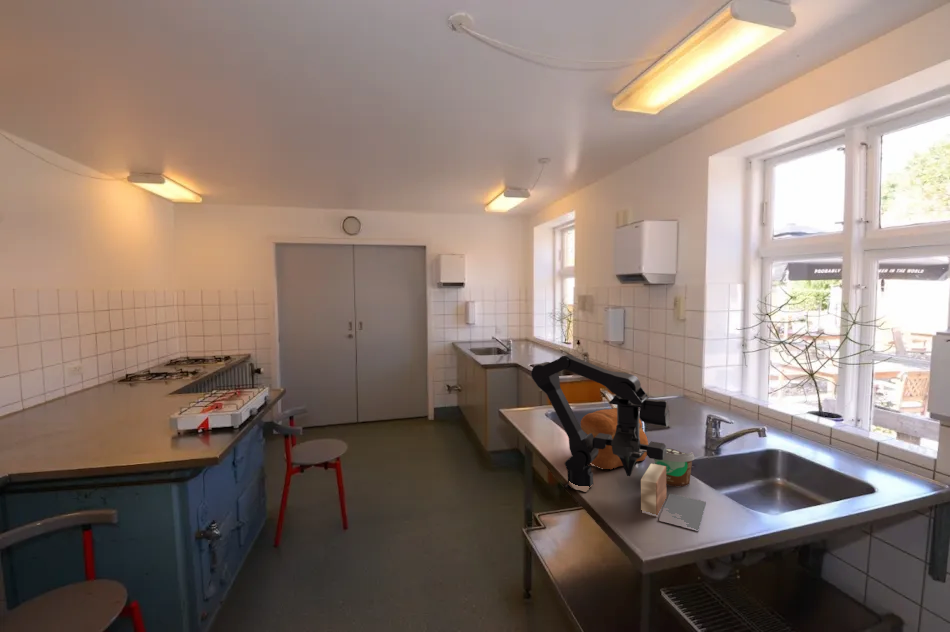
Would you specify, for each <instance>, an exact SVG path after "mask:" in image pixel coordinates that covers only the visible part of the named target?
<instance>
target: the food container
mask: <svg viewBox="0 0 950 632" xmlns="http://www.w3.org/2000/svg"><path fill="white" fill-rule="evenodd" d="M653 460H654V461H653V462H654V464H657V465H662V466H666V484H667V485H666V486H669V485H670V487H676V486H681V487H686V485H687V486H689V485H690V481H691V475H692V474H691V473H692V466H693V461H694V460H695V454H694V452H693V451H691V452H690V453H689V452H688V453H686V452H682V451H680V450H676V449H673V448H668V447H667V453H666V455H665V457H664V459H663V460H657V459H653ZM688 484H689V485H688Z"/></svg>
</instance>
